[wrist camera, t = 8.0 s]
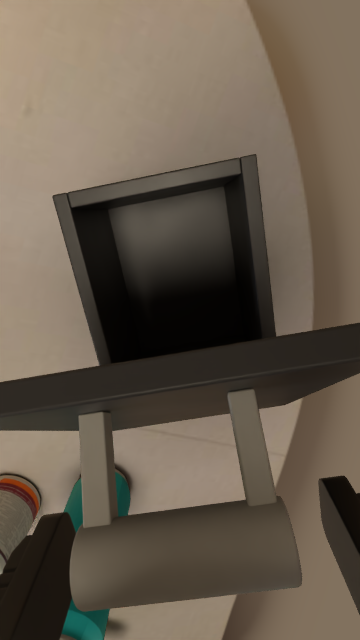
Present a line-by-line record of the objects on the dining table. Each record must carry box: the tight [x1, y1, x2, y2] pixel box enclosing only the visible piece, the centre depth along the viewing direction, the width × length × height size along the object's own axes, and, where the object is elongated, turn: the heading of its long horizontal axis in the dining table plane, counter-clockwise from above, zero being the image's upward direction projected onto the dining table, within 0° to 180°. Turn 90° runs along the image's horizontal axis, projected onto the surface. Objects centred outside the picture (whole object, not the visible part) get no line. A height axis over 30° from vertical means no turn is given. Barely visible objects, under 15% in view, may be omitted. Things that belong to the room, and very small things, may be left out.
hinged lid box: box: [53, 154, 276, 366], centre depth 24 cm, size 14×11×10 cm
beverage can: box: [60, 469, 131, 640], centre depth 28 cm, size 6×6×15 cm
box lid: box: [0, 323, 360, 612], centre depth 13 cm, size 14×11×5 cm
